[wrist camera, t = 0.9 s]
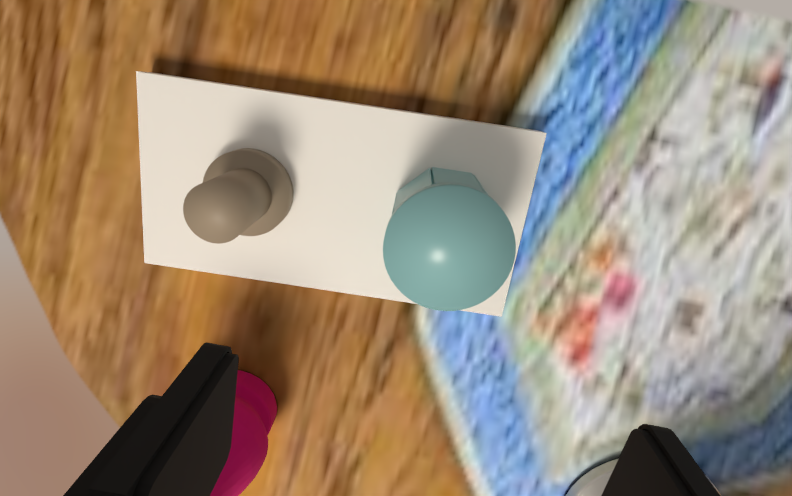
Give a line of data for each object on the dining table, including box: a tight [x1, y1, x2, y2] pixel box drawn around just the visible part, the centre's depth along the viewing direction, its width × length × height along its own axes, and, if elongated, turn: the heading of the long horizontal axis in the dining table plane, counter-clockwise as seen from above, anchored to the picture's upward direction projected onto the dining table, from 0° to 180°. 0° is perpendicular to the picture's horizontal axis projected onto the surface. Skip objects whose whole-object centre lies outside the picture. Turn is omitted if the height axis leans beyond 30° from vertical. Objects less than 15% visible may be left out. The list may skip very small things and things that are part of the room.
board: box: [136, 71, 546, 316], centre depth 27 cm, size 24×12×7 cm, turn 82°
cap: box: [383, 167, 516, 311], centre depth 26 cm, size 7×7×6 cm
